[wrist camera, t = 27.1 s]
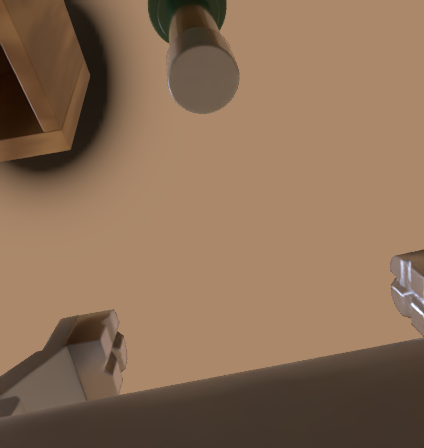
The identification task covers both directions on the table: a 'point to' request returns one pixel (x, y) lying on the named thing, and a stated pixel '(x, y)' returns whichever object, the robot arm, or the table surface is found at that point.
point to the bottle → (196, 53)
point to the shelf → (38, 78)
